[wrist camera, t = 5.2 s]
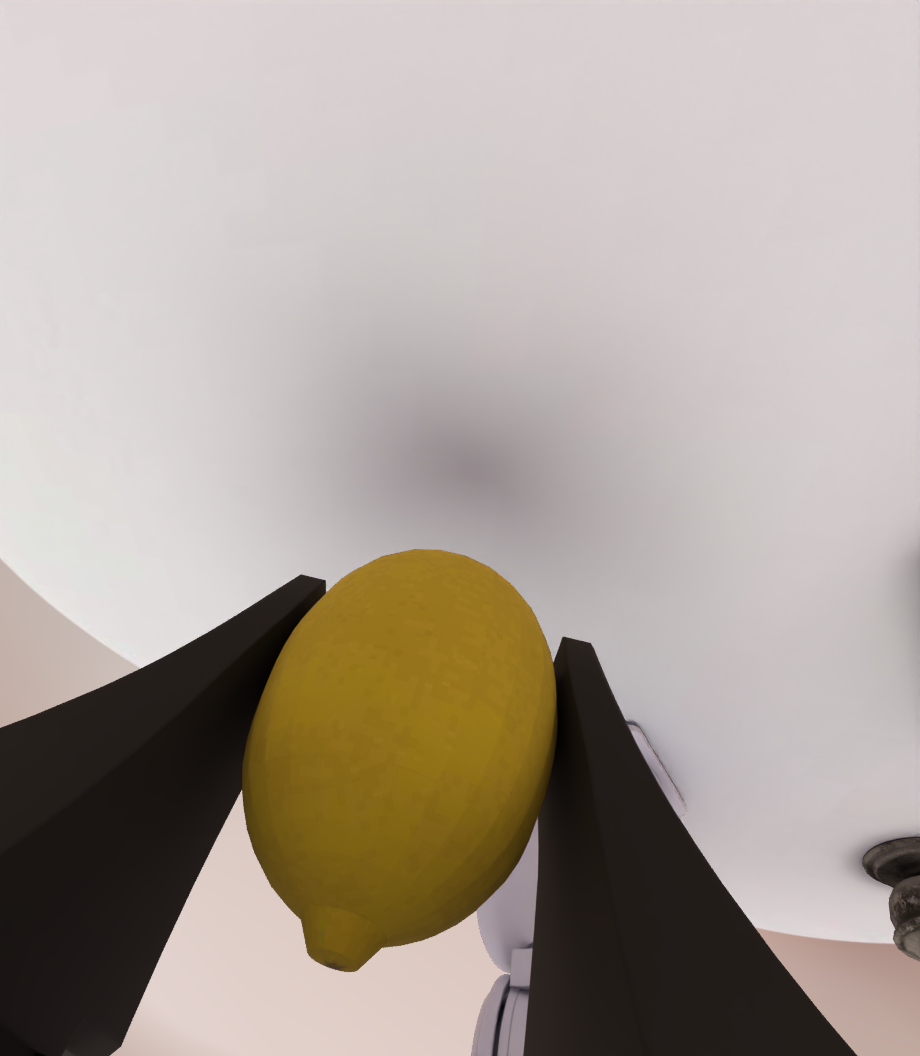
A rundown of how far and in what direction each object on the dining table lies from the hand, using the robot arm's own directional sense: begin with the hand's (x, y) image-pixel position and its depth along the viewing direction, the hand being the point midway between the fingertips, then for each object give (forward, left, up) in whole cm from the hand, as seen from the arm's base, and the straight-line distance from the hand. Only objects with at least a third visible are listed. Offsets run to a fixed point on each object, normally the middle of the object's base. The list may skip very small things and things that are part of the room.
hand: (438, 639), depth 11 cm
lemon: (0, 0, -2) cm, 2 cm away
